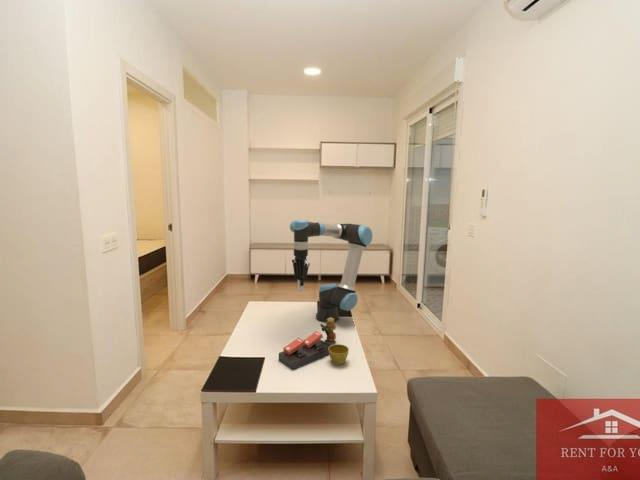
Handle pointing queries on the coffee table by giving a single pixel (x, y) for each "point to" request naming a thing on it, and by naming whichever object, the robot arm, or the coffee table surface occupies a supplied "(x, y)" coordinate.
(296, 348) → the plate
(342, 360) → the flower pot
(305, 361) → the power strip
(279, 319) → the coffee table surface
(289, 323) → the coffee table surface
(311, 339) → the rocker
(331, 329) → the figurine
